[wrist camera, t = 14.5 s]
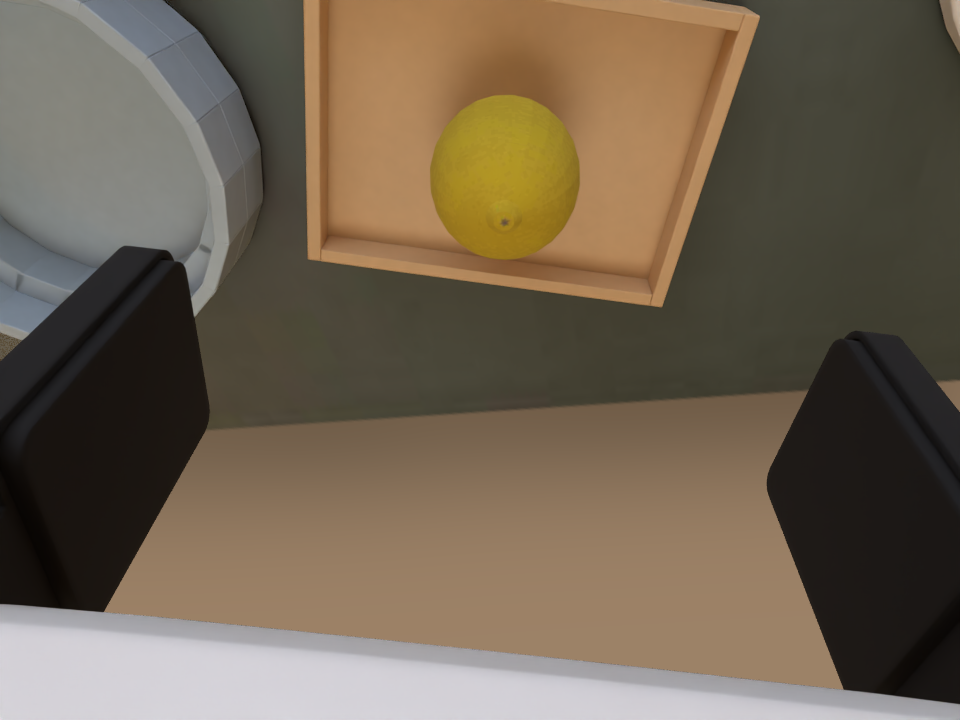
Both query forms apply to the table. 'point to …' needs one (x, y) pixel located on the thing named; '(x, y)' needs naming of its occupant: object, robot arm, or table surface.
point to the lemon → (504, 177)
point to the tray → (531, 74)
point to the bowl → (116, 150)
